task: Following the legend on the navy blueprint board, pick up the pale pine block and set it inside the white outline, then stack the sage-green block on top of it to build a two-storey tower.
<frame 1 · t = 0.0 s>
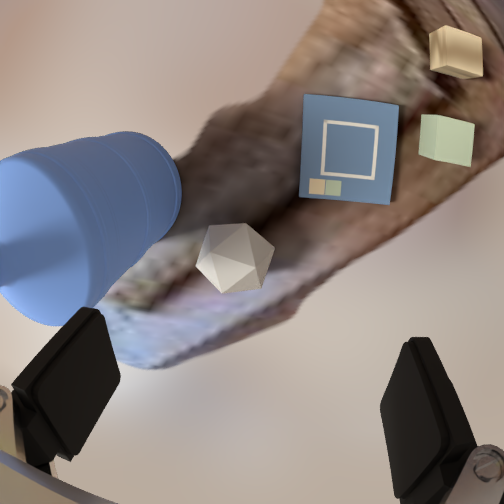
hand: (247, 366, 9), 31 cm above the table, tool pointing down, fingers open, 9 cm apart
blueprint board: (348, 149, 35), on the table
die: (240, 244, 42), on the table
water jug: (130, 188, 41), on the table
pine block: (446, 56, 29), on the table
green block: (437, 137, 33), on the table
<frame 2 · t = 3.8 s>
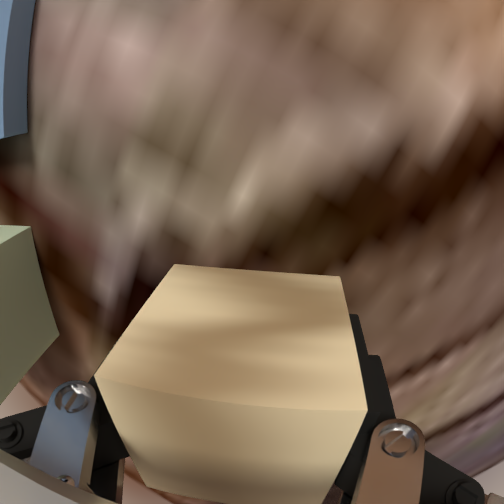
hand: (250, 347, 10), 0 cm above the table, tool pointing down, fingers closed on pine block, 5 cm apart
pine block: (253, 337, 11), on the table, touching gripper
green block: (9, 277, 11), on the table
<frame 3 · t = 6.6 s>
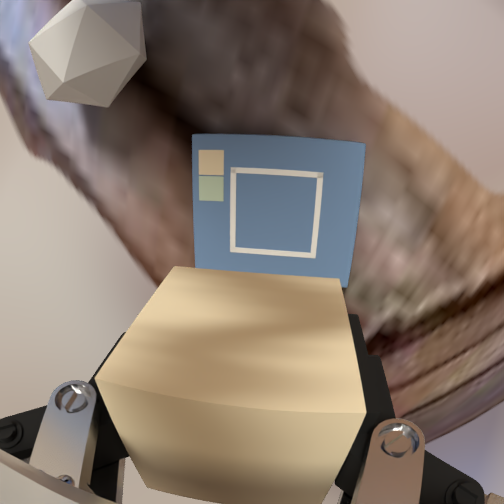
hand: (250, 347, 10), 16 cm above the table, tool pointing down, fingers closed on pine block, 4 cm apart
blueprint board: (275, 209, 24), on the table
die: (117, 55, 21), on the table
pine block: (252, 339, 11), point 15 cm above the table, touching gripper
when the fingers open (3 cm above the table, at t = 9.3 s): pine block drops 1 cm, resting on blueprint board.
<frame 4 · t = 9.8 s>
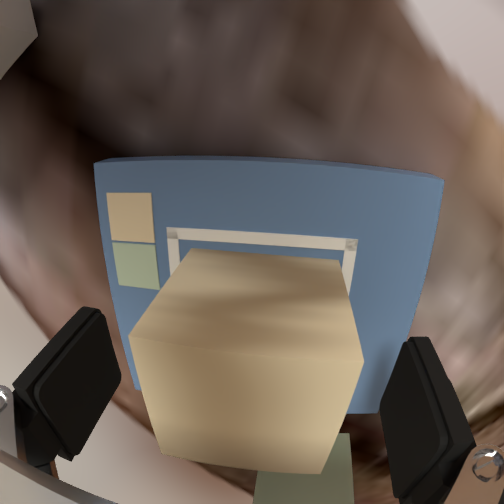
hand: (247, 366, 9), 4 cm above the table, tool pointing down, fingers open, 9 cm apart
blueprint board: (260, 298, 13), on the table
die: (5, 38, 10), on the table
pine block: (260, 316, 12), point 1 cm above the table, touching blueprint board
green block: (301, 452, 17), on the table
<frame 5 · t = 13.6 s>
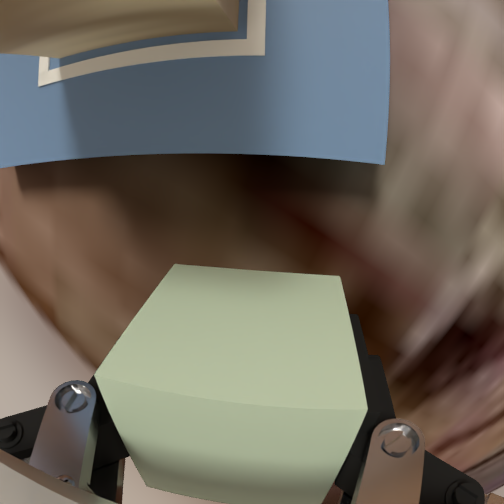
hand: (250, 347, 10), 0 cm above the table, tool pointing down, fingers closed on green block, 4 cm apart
green block: (253, 337, 11), on the table, touching gripper
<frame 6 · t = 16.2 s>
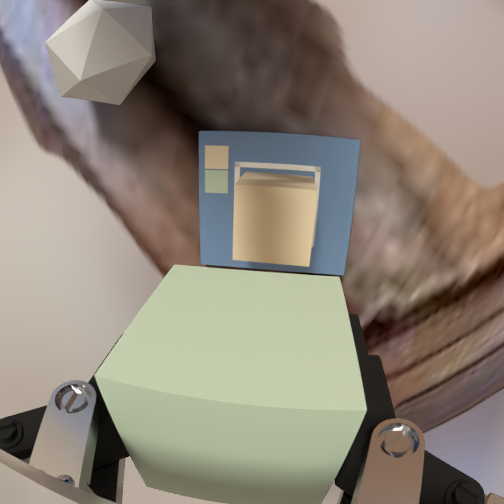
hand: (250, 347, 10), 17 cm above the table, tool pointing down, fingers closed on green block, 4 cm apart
blueprint board: (276, 201, 26), on the table
die: (127, 56, 22), on the table
pine block: (277, 205, 25), point 1 cm above the table, touching blueprint board
green block: (253, 337, 11), point 17 cm above the table, touching gripper
when the fingers open (8 cm above the table, at t = 18.8 s): green block drops 1 cm, resting on pine block.
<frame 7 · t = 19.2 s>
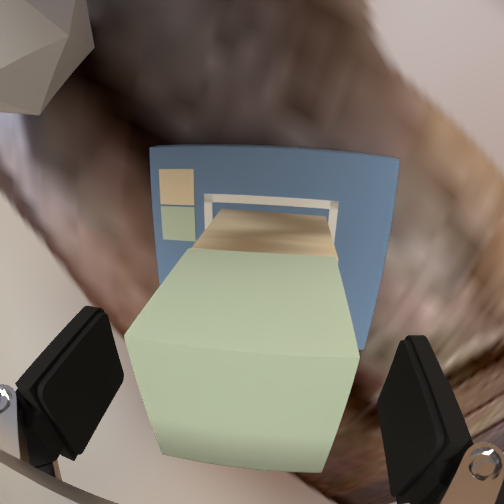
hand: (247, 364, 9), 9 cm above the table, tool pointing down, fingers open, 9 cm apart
blueprint board: (269, 249, 18), on the table
die: (61, 46, 14), on the table
pine block: (270, 259, 16), point 1 cm above the table, touching blueprint board, green block
green block: (259, 315, 12), point 6 cm above the table, touching pine block
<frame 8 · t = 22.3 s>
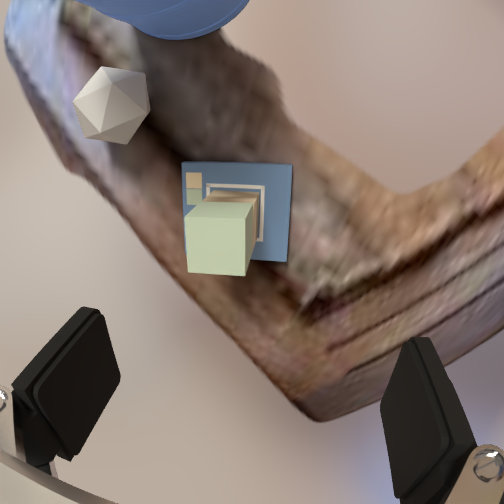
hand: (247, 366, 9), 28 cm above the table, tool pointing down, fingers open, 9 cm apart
blueprint board: (236, 209, 37), on the table
die: (130, 105, 34), on the table
pine block: (235, 213, 36), point 1 cm above the table, touching blueprint board, green block
green block: (226, 227, 31), point 6 cm above the table, touching pine block
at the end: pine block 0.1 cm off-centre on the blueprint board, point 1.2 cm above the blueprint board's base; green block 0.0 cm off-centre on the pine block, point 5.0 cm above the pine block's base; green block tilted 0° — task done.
